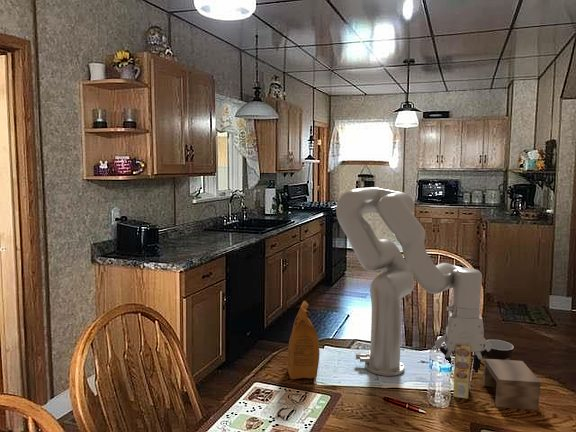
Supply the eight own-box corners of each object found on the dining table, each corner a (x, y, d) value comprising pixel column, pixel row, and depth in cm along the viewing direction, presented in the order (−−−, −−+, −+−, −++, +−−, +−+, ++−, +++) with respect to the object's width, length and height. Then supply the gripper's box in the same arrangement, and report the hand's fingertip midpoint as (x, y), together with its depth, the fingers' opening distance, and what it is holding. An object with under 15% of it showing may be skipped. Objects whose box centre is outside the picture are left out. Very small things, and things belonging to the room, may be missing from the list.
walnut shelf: (496, 406, 140) (498, 379, 139) (482, 383, 153) (484, 358, 152) (538, 409, 138) (540, 382, 137) (520, 386, 152) (522, 360, 151)
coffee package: (318, 364, 165) (319, 299, 162) (319, 382, 153) (321, 312, 150) (287, 363, 165) (289, 298, 163) (286, 380, 153) (287, 311, 150)
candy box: (468, 399, 144) (472, 348, 141) (452, 397, 145) (456, 346, 143) (467, 385, 152) (470, 337, 150) (452, 383, 153) (455, 335, 151)
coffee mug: (506, 369, 164) (508, 340, 162) (515, 381, 155) (517, 350, 154) (469, 367, 165) (471, 338, 163) (476, 379, 156) (478, 348, 155)
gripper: (437, 313, 142) (433, 373, 145) (501, 317, 140) (496, 377, 143) (432, 305, 150) (429, 362, 152) (493, 308, 148) (488, 366, 150)
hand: (461, 369), depth 147 cm, fingers open, 7 cm apart
